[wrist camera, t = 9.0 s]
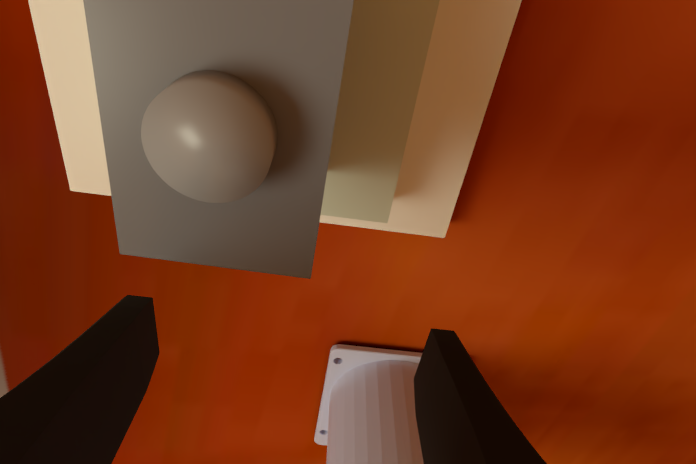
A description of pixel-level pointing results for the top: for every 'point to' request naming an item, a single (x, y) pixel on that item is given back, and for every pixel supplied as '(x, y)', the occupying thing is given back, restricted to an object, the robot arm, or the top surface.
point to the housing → (219, 125)
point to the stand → (340, 106)
